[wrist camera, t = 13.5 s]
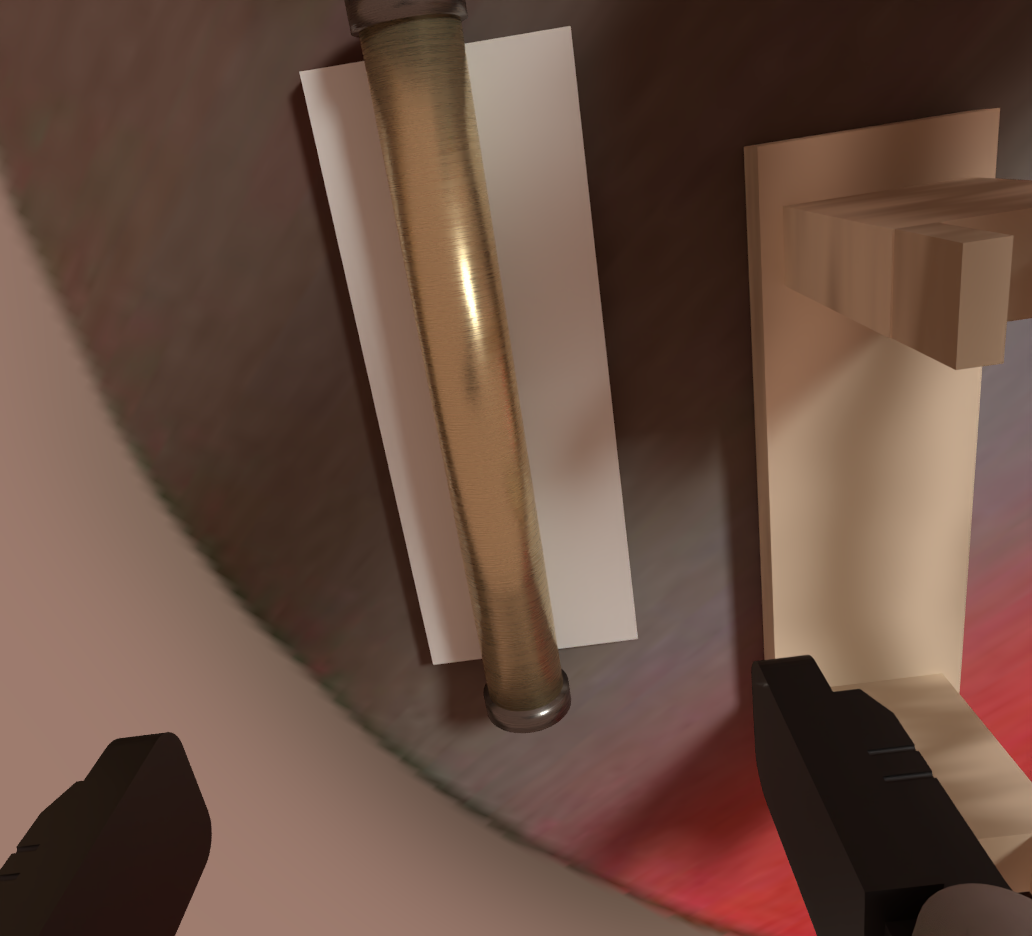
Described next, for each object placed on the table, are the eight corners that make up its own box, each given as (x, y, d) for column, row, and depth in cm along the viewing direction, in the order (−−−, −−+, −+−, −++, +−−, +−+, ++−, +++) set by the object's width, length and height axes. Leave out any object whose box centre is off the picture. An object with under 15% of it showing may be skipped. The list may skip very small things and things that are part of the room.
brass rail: (384, 10, 23) (320, -1, 21) (482, -15, 22) (427, -30, 19) (506, 673, 32) (473, 725, 29) (582, 682, 31) (554, 739, 28)
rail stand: (972, 110, 24) (1345, 77, 13) (936, 731, 33) (1143, 1017, 22) (743, 146, 25) (925, 144, 14) (768, 751, 34) (890, 1042, 23)
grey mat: (568, 29, 24) (570, 25, 23) (635, 627, 31) (637, 638, 31) (306, 74, 24) (299, 71, 23) (435, 652, 32) (433, 664, 31)
